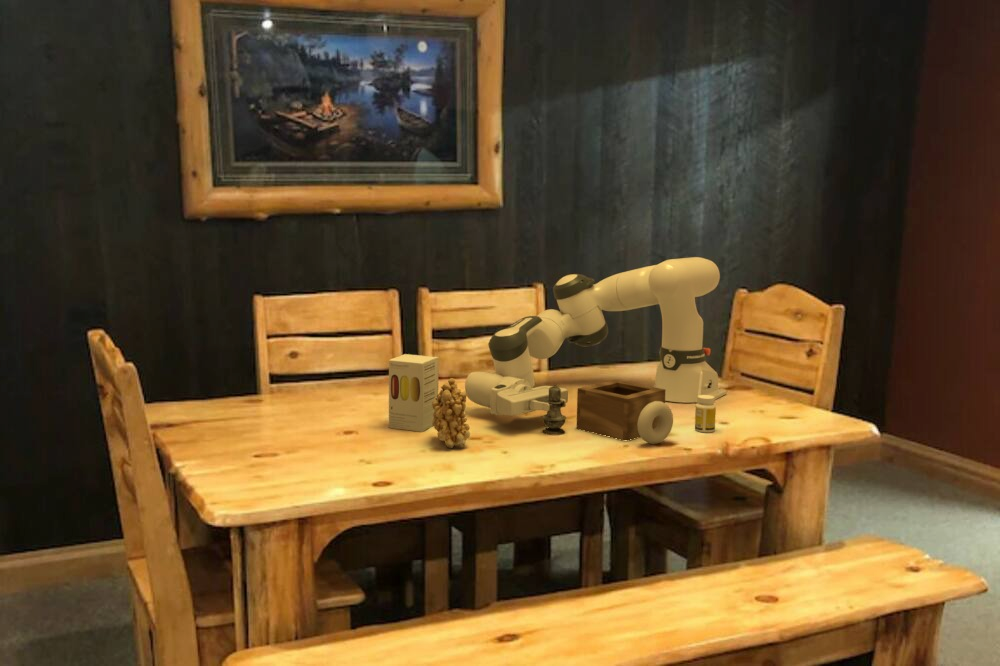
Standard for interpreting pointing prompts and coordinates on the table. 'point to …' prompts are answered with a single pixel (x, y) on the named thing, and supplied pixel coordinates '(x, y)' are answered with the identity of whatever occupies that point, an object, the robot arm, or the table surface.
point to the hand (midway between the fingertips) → (557, 405)
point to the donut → (647, 419)
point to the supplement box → (412, 391)
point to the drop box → (615, 407)
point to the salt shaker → (554, 413)
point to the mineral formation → (451, 415)
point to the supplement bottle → (705, 414)
